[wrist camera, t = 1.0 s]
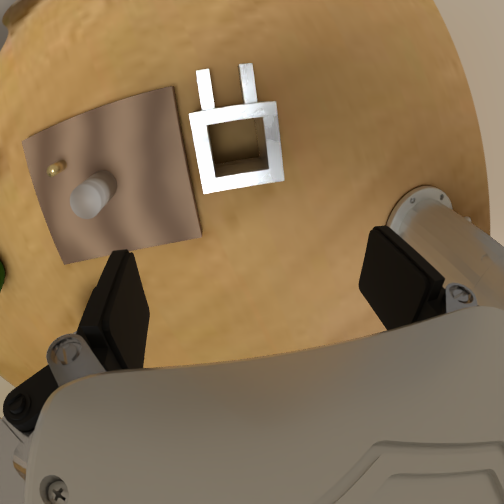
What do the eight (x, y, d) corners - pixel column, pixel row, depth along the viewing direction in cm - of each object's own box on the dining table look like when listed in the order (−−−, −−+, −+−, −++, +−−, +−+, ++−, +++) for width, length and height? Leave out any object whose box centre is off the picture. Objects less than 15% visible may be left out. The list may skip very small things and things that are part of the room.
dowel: (65, 158, 24) (54, 163, 21) (68, 168, 24) (57, 175, 22) (56, 161, 23) (45, 167, 21) (59, 171, 24) (48, 178, 22)
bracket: (271, 166, 29) (284, 180, 24) (205, 177, 29) (203, 193, 24) (259, 64, 23) (269, 55, 19) (187, 74, 23) (181, 67, 18)
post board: (173, 86, 23) (162, 82, 18) (202, 231, 32) (200, 261, 26) (28, 138, 23) (-5, 151, 17) (68, 258, 31) (48, 288, 25)
